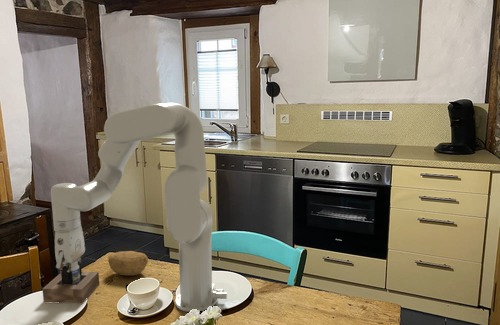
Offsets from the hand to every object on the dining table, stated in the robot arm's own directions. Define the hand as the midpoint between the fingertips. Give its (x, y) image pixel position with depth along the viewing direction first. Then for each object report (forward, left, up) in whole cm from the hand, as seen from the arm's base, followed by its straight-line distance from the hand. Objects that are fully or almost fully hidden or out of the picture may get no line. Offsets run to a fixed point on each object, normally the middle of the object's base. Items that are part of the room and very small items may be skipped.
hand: (72, 278), depth 124 cm
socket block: (0, 0, -5) cm, 5 cm away
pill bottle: (0, 0, -3) cm, 3 cm away
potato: (-13, -14, -5) cm, 20 cm away
